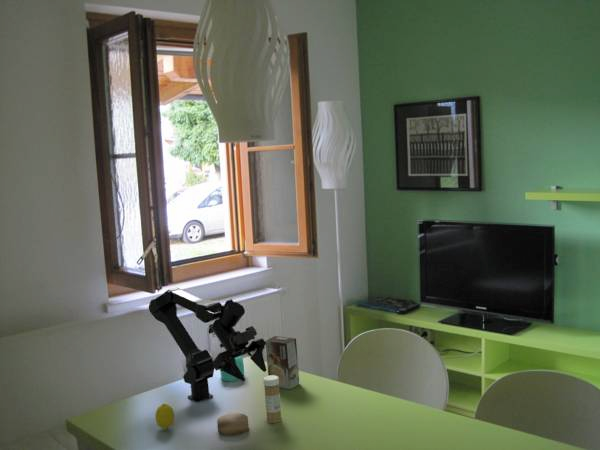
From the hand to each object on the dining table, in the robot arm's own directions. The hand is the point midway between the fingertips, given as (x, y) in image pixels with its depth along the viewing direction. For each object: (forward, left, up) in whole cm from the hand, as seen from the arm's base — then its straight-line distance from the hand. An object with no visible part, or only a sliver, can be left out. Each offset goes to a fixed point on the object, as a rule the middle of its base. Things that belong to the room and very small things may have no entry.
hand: (255, 375), depth 204 cm
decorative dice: (-34, +13, -13) cm, 39 cm away
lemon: (-12, -25, -13) cm, 31 cm away
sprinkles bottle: (+7, +1, -13) cm, 14 cm away
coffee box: (-14, +21, -13) cm, 29 cm away
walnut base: (+3, -11, -13) cm, 17 cm away
